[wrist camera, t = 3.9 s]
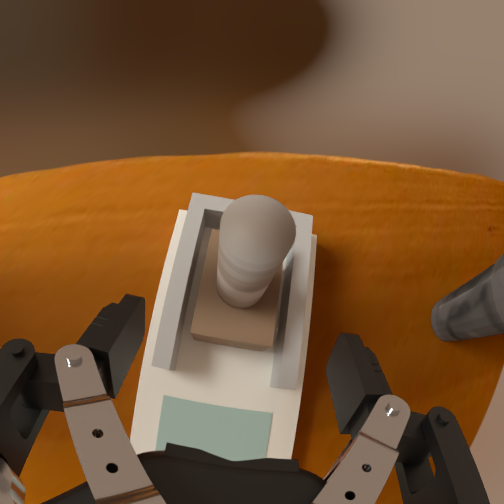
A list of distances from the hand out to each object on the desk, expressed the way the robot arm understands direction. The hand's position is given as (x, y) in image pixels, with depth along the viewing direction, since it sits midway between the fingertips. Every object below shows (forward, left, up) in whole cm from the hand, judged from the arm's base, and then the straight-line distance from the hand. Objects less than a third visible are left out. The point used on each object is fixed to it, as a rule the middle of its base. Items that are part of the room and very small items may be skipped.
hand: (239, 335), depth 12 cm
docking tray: (0, 0, -12) cm, 12 cm away
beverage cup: (+16, +15, -12) cm, 25 cm away
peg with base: (-2, +3, -11) cm, 11 cm away
